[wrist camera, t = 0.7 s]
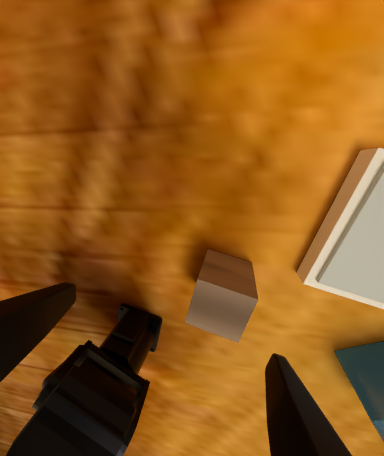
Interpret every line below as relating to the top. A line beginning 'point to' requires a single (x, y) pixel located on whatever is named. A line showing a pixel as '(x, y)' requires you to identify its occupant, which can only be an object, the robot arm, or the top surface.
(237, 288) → the block
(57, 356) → the top surface
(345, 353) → the perfume bottle
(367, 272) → the base
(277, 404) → the robot arm
